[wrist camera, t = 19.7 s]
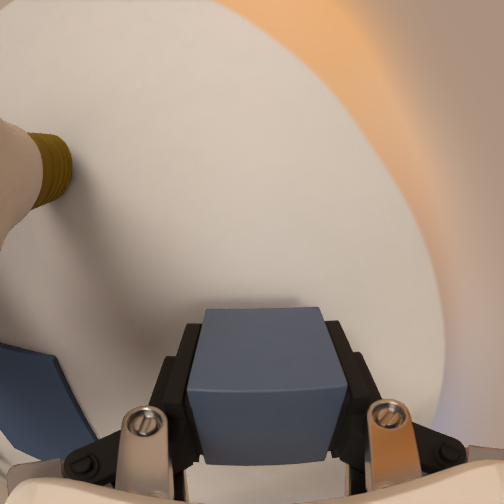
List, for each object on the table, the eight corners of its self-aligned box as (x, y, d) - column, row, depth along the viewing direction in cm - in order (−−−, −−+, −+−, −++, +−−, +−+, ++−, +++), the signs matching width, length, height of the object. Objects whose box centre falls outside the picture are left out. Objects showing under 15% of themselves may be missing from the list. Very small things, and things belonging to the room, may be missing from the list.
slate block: (205, 308, 10) (185, 389, 7) (319, 306, 10) (349, 385, 7) (215, 387, 12) (205, 464, 8) (309, 385, 12) (324, 461, 8)
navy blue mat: (-56, 324, 13) (-59, 327, 12) (55, 356, 13) (51, 360, 12) (16, 445, 18) (14, 448, 17) (129, 485, 18) (128, 488, 17)
